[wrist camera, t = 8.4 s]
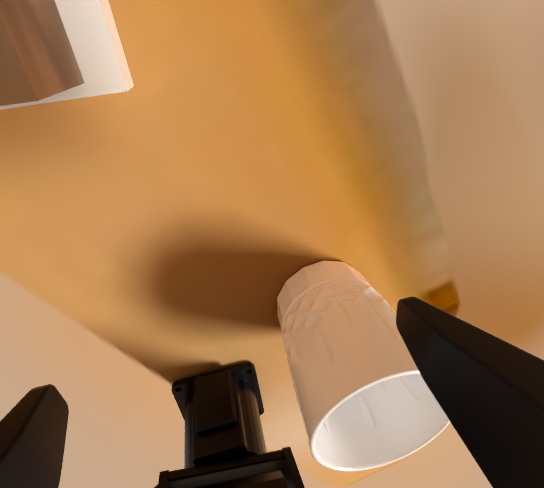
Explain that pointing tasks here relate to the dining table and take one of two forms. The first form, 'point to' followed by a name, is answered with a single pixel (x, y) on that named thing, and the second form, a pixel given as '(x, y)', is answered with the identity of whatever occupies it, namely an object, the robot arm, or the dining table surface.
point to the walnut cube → (34, 52)
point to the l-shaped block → (91, 51)
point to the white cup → (353, 371)
